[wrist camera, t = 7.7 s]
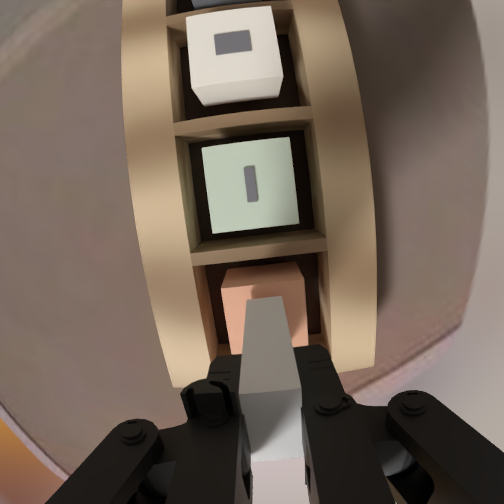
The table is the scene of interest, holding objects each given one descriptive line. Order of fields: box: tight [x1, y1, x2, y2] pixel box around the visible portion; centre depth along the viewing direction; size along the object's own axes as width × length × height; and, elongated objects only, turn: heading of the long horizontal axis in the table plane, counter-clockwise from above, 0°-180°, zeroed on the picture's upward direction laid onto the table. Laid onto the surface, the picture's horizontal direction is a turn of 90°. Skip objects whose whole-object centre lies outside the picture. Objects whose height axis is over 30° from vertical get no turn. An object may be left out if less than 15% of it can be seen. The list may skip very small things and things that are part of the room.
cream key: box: [186, 6, 283, 107], centre depth 12 cm, size 4×4×3 cm
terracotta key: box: [221, 261, 308, 355], centre depth 15 cm, size 4×4×3 cm
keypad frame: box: [121, 0, 377, 387], centre depth 14 cm, size 26×11×3 cm, turn 7°
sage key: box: [202, 137, 299, 234], centre depth 14 cm, size 4×4×3 cm
